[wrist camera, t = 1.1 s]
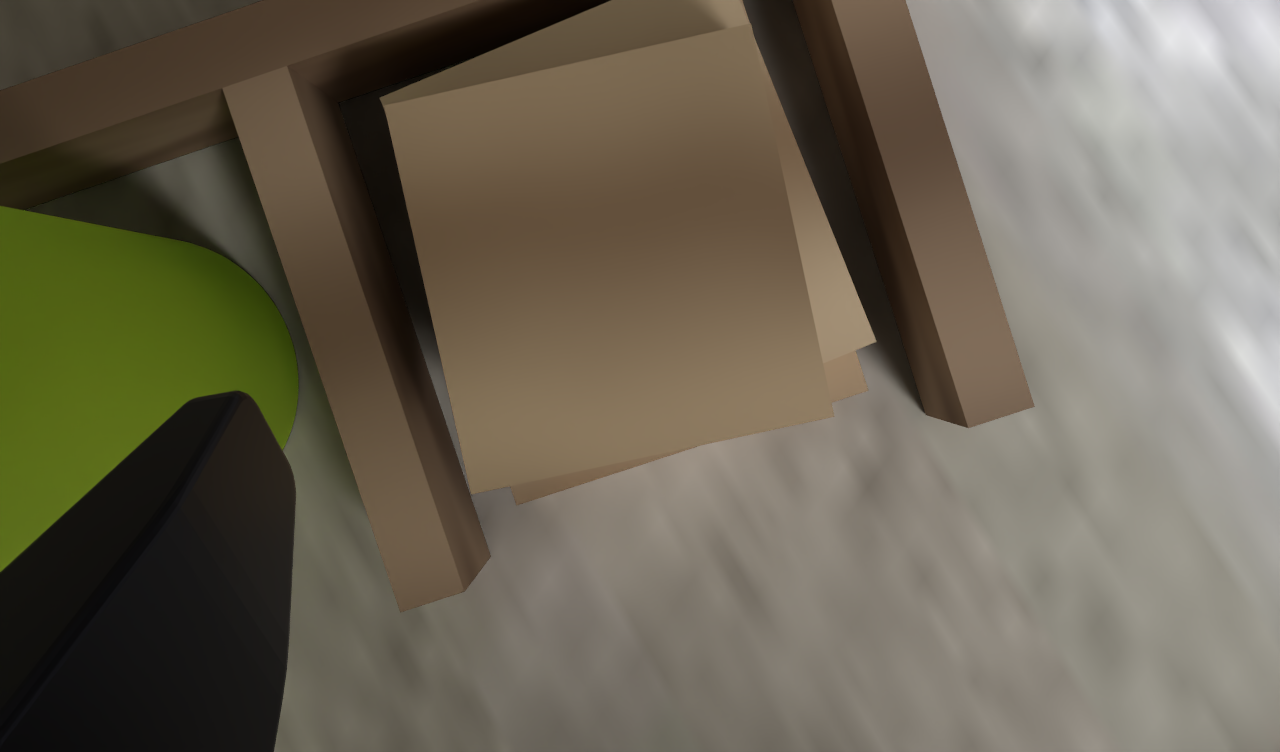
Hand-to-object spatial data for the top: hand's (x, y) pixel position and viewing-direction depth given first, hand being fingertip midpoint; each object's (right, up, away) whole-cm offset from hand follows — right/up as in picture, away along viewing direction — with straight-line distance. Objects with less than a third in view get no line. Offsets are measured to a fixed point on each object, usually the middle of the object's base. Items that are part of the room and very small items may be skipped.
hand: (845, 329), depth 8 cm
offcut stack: (-2, +2, +14) cm, 14 cm away
